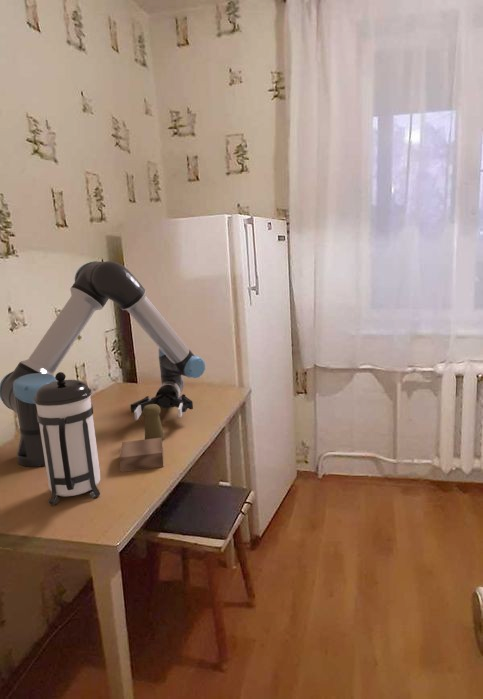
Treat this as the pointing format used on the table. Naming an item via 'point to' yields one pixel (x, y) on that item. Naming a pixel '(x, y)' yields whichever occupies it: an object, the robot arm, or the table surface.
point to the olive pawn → (153, 422)
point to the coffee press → (68, 438)
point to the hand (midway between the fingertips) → (157, 414)
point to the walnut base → (141, 454)
